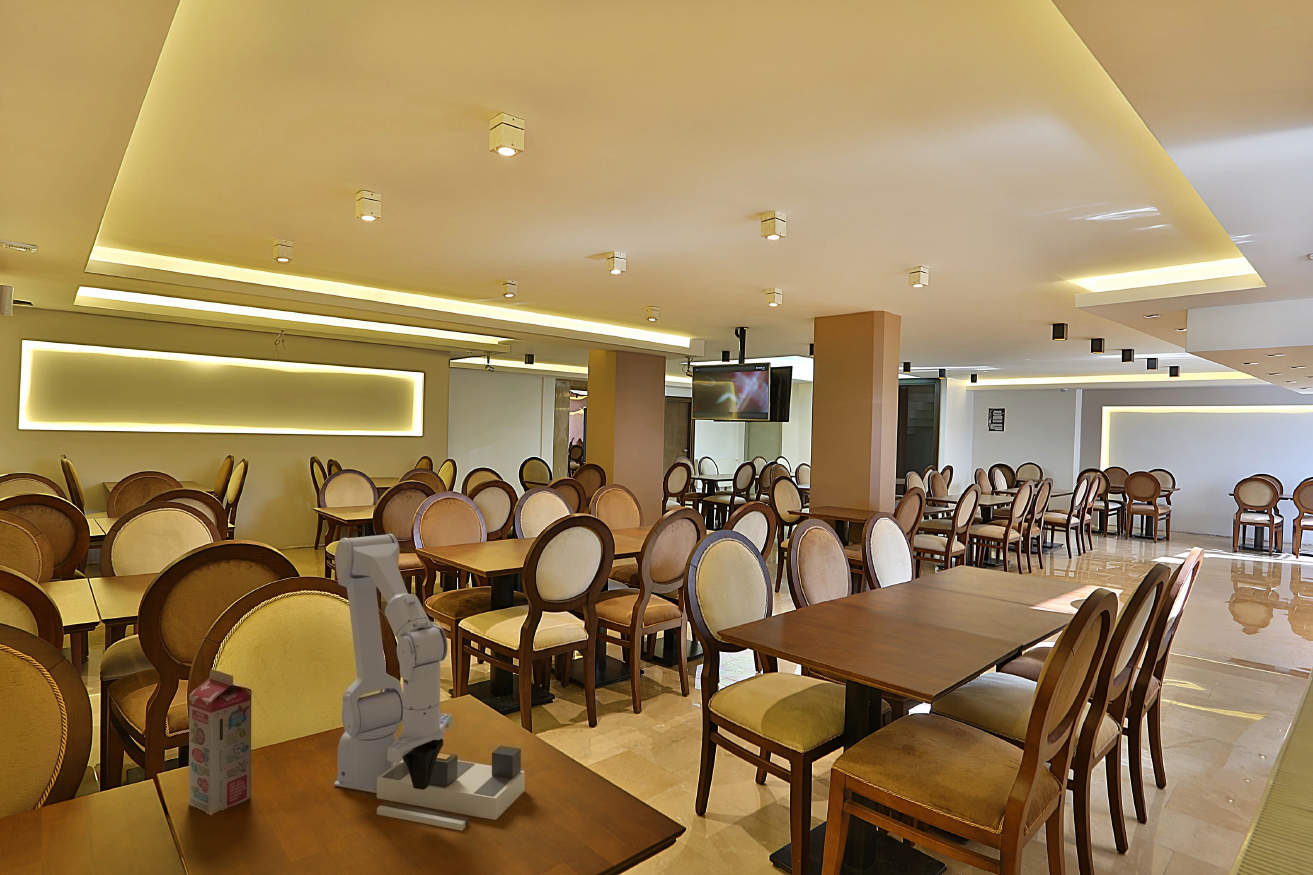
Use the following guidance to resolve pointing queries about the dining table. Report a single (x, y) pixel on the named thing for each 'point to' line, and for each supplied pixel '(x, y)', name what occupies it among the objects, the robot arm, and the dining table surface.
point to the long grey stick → (423, 816)
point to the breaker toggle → (444, 769)
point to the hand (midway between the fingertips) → (421, 786)
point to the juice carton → (219, 743)
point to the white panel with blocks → (462, 786)
